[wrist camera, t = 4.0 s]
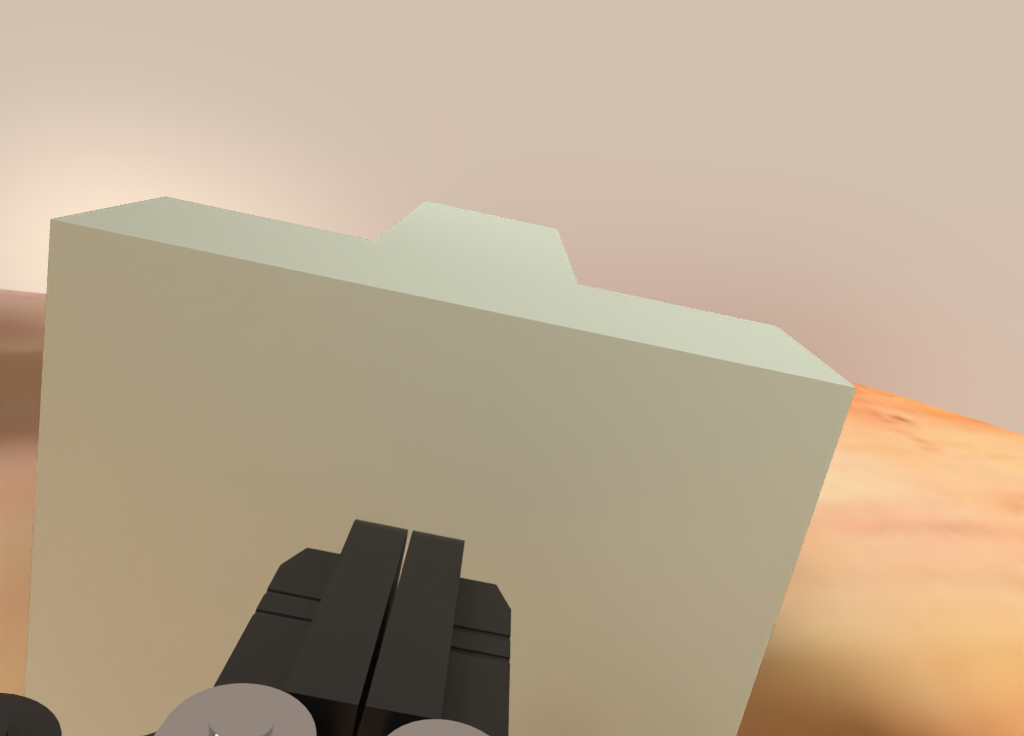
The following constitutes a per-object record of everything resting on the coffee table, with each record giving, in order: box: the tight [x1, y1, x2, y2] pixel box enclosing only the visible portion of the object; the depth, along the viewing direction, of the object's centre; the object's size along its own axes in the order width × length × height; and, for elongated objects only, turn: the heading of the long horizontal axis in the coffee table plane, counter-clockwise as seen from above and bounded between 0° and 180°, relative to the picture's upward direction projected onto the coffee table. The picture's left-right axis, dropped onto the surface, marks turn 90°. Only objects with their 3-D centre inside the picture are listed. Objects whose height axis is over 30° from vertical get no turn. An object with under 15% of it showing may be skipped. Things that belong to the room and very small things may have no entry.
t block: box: [24, 197, 856, 736], centre depth 20 cm, size 13×12×10 cm
